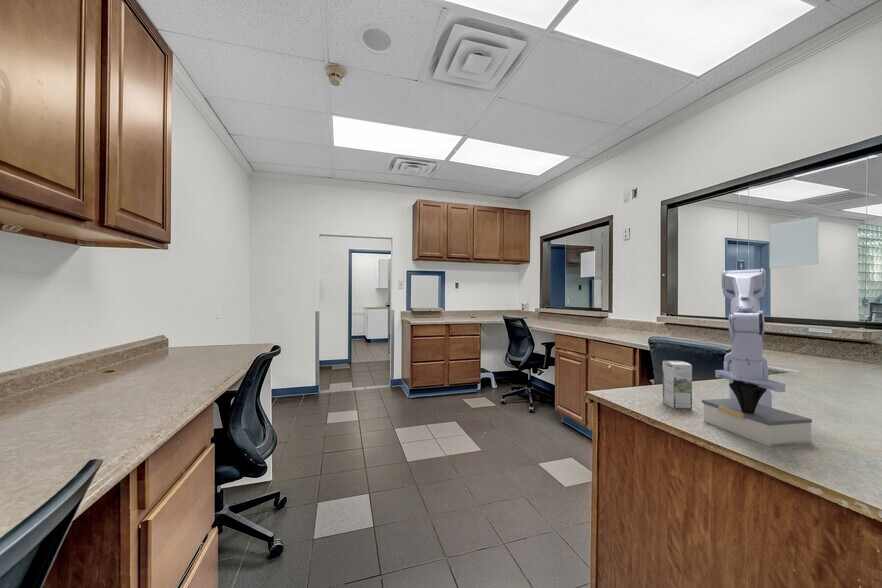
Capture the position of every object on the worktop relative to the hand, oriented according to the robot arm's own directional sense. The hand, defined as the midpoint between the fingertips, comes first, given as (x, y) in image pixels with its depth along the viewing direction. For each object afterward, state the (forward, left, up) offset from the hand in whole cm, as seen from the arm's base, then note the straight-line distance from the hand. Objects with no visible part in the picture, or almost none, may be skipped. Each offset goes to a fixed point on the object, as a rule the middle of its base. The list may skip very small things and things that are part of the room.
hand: (748, 412), depth 80 cm
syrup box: (-2, -22, -6) cm, 23 cm away
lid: (-4, -2, -1) cm, 5 cm away
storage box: (-4, -2, -6) cm, 8 cm away
